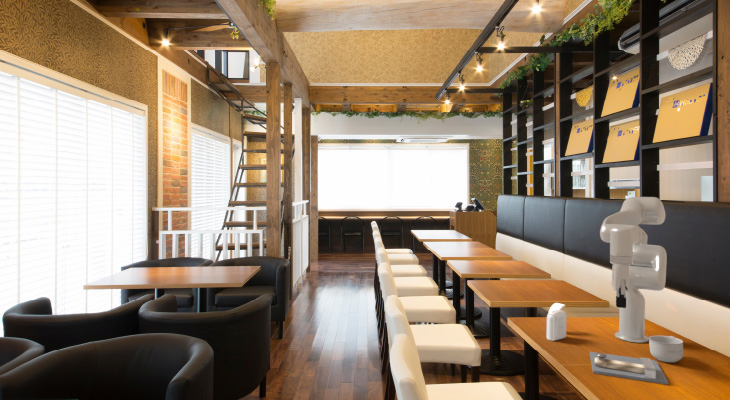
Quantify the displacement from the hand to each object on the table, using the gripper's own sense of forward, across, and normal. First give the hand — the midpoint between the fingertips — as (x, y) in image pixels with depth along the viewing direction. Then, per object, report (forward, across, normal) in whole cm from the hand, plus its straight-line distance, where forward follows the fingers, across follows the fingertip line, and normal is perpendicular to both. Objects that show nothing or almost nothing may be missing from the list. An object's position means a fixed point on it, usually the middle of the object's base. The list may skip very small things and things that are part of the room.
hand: (621, 306), depth 167 cm
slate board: (+19, +11, 0) cm, 22 cm away
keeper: (+19, +15, +6) cm, 25 cm away
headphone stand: (+21, -26, -23) cm, 40 cm away
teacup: (+20, -6, +16) cm, 27 cm away
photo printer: (+20, -14, -23) cm, 33 cm away
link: (+18, +16, -1) cm, 24 cm away
